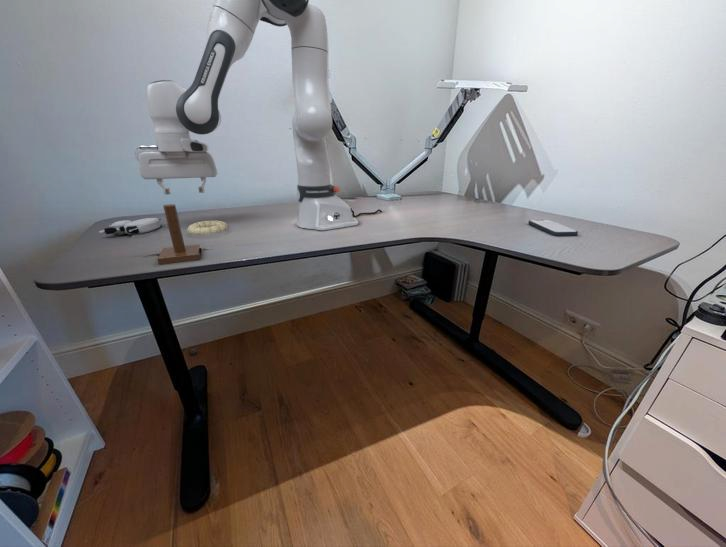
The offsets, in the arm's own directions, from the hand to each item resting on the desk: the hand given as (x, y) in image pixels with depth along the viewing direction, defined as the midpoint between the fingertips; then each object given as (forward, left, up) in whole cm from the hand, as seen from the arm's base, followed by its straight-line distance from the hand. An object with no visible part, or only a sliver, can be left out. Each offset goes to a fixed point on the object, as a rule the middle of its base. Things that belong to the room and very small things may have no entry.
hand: (185, 193), depth 97 cm
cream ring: (-4, 0, -12) cm, 12 cm away
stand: (+2, +22, -13) cm, 26 cm away
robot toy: (+18, -7, -13) cm, 23 cm away
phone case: (-115, +39, -13) cm, 123 cm away
